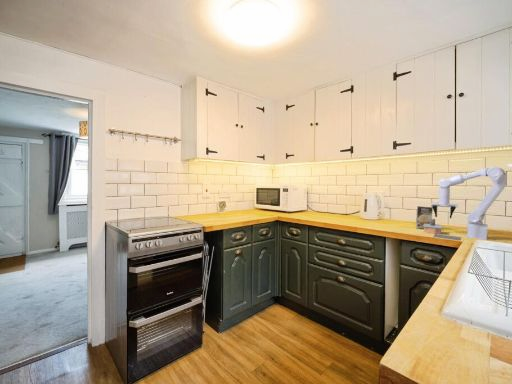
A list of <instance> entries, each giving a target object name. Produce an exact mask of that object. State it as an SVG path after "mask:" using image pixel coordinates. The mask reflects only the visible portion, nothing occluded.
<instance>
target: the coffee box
mask: <svg viewBox="0 0 512 384" xmlns="http://www.w3.org/2000/svg"><path fill="white" fill-rule="evenodd" d="M431 219H433V208H432V206H417V207H416V220H415V229H418V230H424V226H423V225H424V224H431Z"/></svg>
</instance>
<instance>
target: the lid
mask: <svg viewBox="0 0 512 384" xmlns="http://www.w3.org/2000/svg"><path fill="white" fill-rule="evenodd" d="M443 225H444V224H443ZM443 225H442V224H436V219H435V218H432V219H431V224H424V225H423V226H424V227H434V228H441V229H443Z"/></svg>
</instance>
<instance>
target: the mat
mask: <svg viewBox="0 0 512 384" xmlns="http://www.w3.org/2000/svg"><path fill="white" fill-rule="evenodd" d="M432 238H437V239H444V240H445V239H446V240H454V241H461V240H462V237H461V236H453V235H445V234H433V236H432Z"/></svg>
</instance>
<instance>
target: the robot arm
mask: <svg viewBox="0 0 512 384" xmlns="http://www.w3.org/2000/svg"><path fill="white" fill-rule="evenodd" d="M479 177H489V179H491V180H492V183H493V185H492V187H491V188H490V190H489V191H488V192H487V193H486V195H485V196H484V198H483V199H482V200H481V201H480V203H479V204H478V205H477V207H476V208H475V209H474V210H473V211H472V212H470V213H468V214H467V216H466V219H467V225H466V227H467V228H466V235H465V238H470V239H480V240H488V236H489V234H488V224H486V223H484V221H483V220H484V219H485V215H486V213H487V211H488V210H489V208H490V207H491V206H492V205H493V203H494V202H495V201H496V200H497V198H498V197H499V195H500V194H501V193H502V192H503V191H504V189H505V188H506V187H507V183H508V182H507V173H506V171H505V170H504V169H503V168H502V167H499V166H492V167H486V168H481V169H478V170H475V171H474V172H470V173H467V174H464V175H462V174H459V173H458V174H455V175H454V176H450V177H446V179H445V178H442V179H440V180H438V182H437V183H438V187H439V190H438V203H436V202H435V203H433V202H431V203H430V206H429V207H432V211H433V212H434V216H435V218H437V217H438V207H442V208H450V211H449V212H450V214H449V219H452V217H453V215H454V212H455V211H456V208H459V204H458V203H457V204H454V203H450V197H451V196H450V195H451V190H450V189H451V187H453V186H458V185H460V184H464V183H465V181H467V180H470V179H475V178H479Z"/></svg>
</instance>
